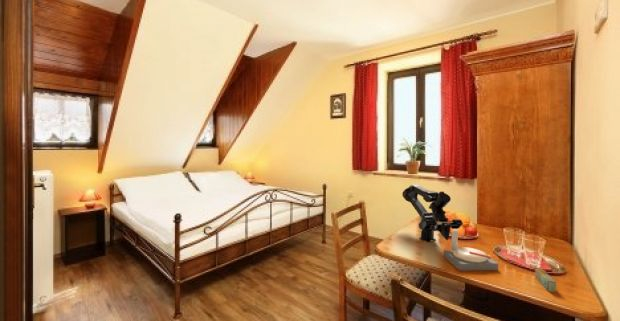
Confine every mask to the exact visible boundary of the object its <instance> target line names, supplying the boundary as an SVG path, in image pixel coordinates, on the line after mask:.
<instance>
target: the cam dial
mask: <svg viewBox="0 0 620 321" xmlns="http://www.w3.org/2000/svg"><path fill="white" fill-rule="evenodd" d="M458 239H459V230H458V229H452V230H451V246H450V247H451V249H450V250H453V255H454V256H455V257H456V258H458V259H461V260H464V261H468V262H474V263H482V262H485V261H487V257H488V258H491V259H492V256H491V255H490V256H488V255H489V254H487V253H486V254H485V253H484V252H485V251H482V250H479V249H478V248H477V249H476V248H472V247H469V246H468V247H465V246H458V244H459V242H458V241H459V240H458Z"/></svg>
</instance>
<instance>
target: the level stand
mask: <svg viewBox="0 0 620 321" xmlns="http://www.w3.org/2000/svg"><path fill="white" fill-rule="evenodd" d="M483 252H484V253H485V254H487V252H485V251H483ZM487 255H488V256H491V255H490V254H487ZM443 257H444V258H445V259H446V260H447V261H448V262H449V263H450V264H452V265H453V266H454V267H455V268H456V269H457V270H459V271H498V270H499V263H498V262H497V261H495V260H493V259H492V257H491V258H488V257H487V261H485V262H482V263H474V262H468V261H464V260H461V259H458V258H456V257H455V256H454V255H453V250H452V249H444V250H443Z"/></svg>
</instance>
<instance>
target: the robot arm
mask: <svg viewBox="0 0 620 321" xmlns="http://www.w3.org/2000/svg"><path fill="white" fill-rule="evenodd" d="M401 196H402V197H403V199H404V200H405V201H406V202H409V203H410V205H412V207H413V208H414V209H415V211H416V212H417V214H418V215H419V217H420V221H419V223H418V228H419V229H420V230H421V231H420V237H419V239H420V240H423V241H425V242H428V243H429V242H433V241H436V240H437V239H436V238H434V237H435V236H434V235H435V232H439V233H440V234H441V235H442V237H443V238H444V239H445V240H446V241H448V240H449V239H450V230H451V229H452V230H458V229H460V228H461V227H462V225H464V222H463V221H462V219H460V218H459V219H458V218H457V219H454V218H453V219H452V221H448V220H449V218H448V217H447V216H446V213H447V212H446V211H445V210H444V208H446V206H447V205H448V204H449V203H450V202H451V197H450V195H449V194H448V193H445V191H439V192H438V191H435V190H428V189H427V188H424V187H423V186H421V185H419V184H410V186H409V187H407V188H405V189H404V190H403V191H402V195H401ZM418 196H421V197H422V199H423V200H424V202H426V203H430V204H429V205H428V209H430V210H431V212H428V210H427V209H426V208H425V206H424V205H423V204H422V203H421V201H420V200H419V199H418Z"/></svg>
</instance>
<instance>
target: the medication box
mask: <svg viewBox="0 0 620 321" xmlns="http://www.w3.org/2000/svg"><path fill="white" fill-rule="evenodd" d="M534 272H535V273H534V278H535V279H536V280H537V281H538V282H539V283H540V285H541V286H542V287H543V288H544V289H545V290H546V291H547V292H552V293H556V290H557V281H555V280H554V278H552V277H551V276H550V275H549V274H548V273H547V272H546V271H545V270H544V269H542V268H535V271H534Z"/></svg>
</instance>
